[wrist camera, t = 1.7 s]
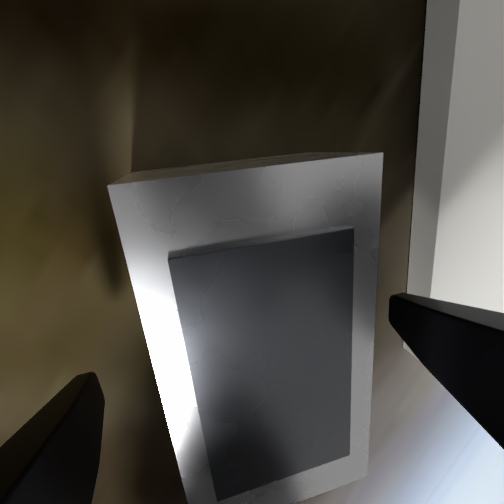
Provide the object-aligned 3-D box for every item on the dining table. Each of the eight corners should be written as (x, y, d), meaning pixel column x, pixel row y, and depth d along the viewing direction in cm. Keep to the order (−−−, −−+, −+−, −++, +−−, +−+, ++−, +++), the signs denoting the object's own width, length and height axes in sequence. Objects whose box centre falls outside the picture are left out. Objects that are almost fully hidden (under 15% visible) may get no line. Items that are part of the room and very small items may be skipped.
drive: (312, 387, 13) (370, 480, 10) (188, 423, 12) (197, 546, 8) (304, 152, 10) (388, 152, 6) (132, 171, 9) (105, 186, 5)
